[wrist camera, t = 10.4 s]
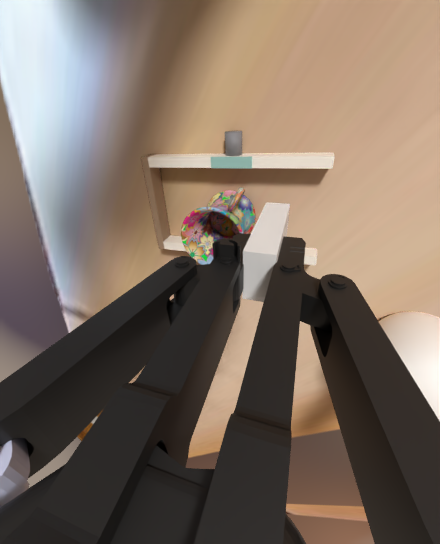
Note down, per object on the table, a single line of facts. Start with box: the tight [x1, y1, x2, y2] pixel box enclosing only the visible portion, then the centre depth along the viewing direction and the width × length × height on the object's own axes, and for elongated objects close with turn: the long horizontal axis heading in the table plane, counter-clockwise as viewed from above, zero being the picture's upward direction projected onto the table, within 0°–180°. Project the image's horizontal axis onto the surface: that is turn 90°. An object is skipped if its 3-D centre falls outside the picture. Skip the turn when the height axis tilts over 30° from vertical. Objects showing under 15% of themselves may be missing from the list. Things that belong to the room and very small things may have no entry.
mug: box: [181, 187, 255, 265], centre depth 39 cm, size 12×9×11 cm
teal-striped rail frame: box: [141, 131, 335, 265], centre depth 42 cm, size 22×28×3 cm
